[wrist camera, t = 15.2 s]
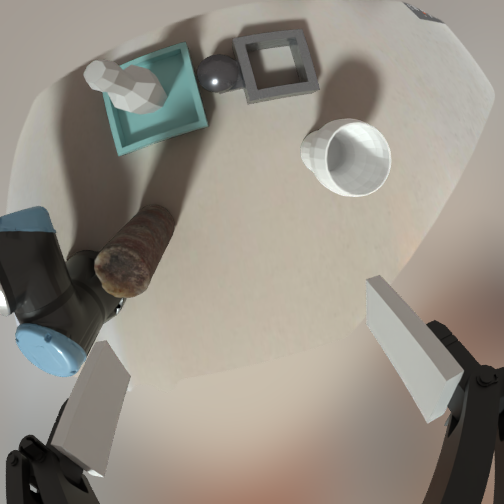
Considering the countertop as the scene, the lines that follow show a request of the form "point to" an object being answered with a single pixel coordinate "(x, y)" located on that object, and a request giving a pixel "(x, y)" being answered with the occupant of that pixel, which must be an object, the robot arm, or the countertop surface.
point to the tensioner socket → (240, 72)
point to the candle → (135, 252)
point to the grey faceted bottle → (127, 86)
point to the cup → (348, 157)
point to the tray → (174, 110)
